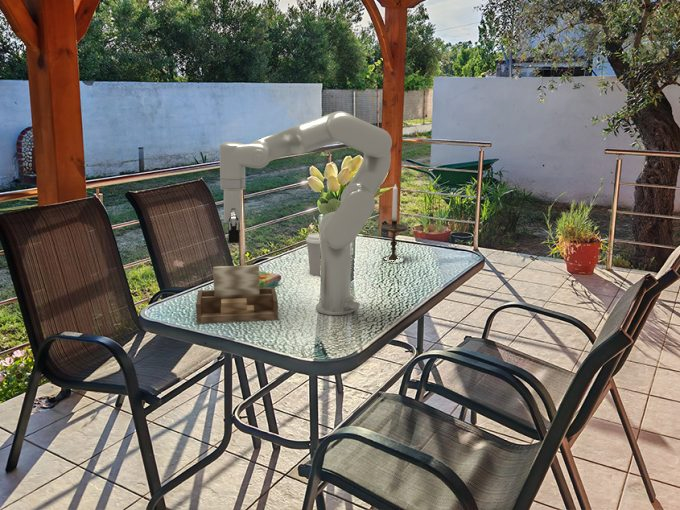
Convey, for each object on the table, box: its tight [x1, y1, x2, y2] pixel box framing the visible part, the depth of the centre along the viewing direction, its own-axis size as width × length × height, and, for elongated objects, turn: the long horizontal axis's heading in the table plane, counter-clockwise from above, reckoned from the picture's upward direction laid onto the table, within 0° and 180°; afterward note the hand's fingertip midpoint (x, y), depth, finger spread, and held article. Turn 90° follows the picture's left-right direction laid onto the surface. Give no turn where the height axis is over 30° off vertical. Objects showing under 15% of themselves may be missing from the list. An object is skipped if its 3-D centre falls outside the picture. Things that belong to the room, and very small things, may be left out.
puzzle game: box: [259, 270, 282, 288], centre depth 230 cm, size 12×5×20 cm
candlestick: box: [380, 177, 408, 262], centre depth 265 cm, size 11×11×35 cm
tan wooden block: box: [221, 298, 254, 315], centre depth 199 cm, size 10×5×5 cm, turn 99°
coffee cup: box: [305, 232, 321, 277], centre depth 248 cm, size 10×10×15 cm
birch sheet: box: [212, 264, 260, 296], centre depth 204 cm, size 14×2×14 cm, turn 99°
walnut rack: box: [195, 286, 279, 325], centre depth 201 cm, size 24×14×7 cm, turn 99°
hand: (233, 239), depth 200 cm, fingers open, 9 cm apart
